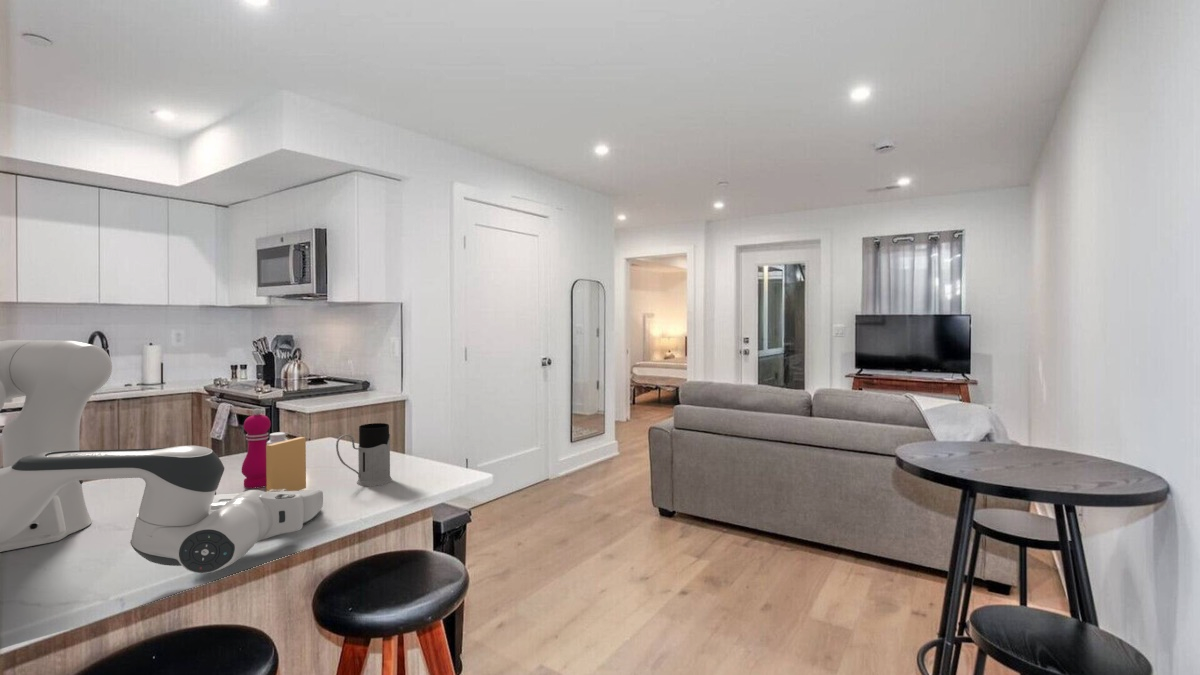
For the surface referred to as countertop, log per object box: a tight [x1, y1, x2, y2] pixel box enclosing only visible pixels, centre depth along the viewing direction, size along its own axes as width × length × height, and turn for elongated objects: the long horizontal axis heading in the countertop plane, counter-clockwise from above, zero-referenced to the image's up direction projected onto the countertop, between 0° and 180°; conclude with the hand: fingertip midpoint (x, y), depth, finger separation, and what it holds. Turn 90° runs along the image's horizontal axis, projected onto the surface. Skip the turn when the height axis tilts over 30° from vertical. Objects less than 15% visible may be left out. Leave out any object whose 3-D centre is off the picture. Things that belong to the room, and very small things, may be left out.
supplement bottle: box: [267, 431, 289, 445], centre depth 161 cm, size 6×6×10 cm
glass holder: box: [335, 422, 393, 487], centre depth 148 cm, size 9×14×15 cm, turn 136°
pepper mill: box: [241, 408, 272, 489], centre depth 146 cm, size 7×7×20 cm
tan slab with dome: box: [266, 436, 307, 492], centre depth 125 cm, size 14×7×14 cm, turn 159°
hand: (279, 492), depth 116 cm, fingers closed
